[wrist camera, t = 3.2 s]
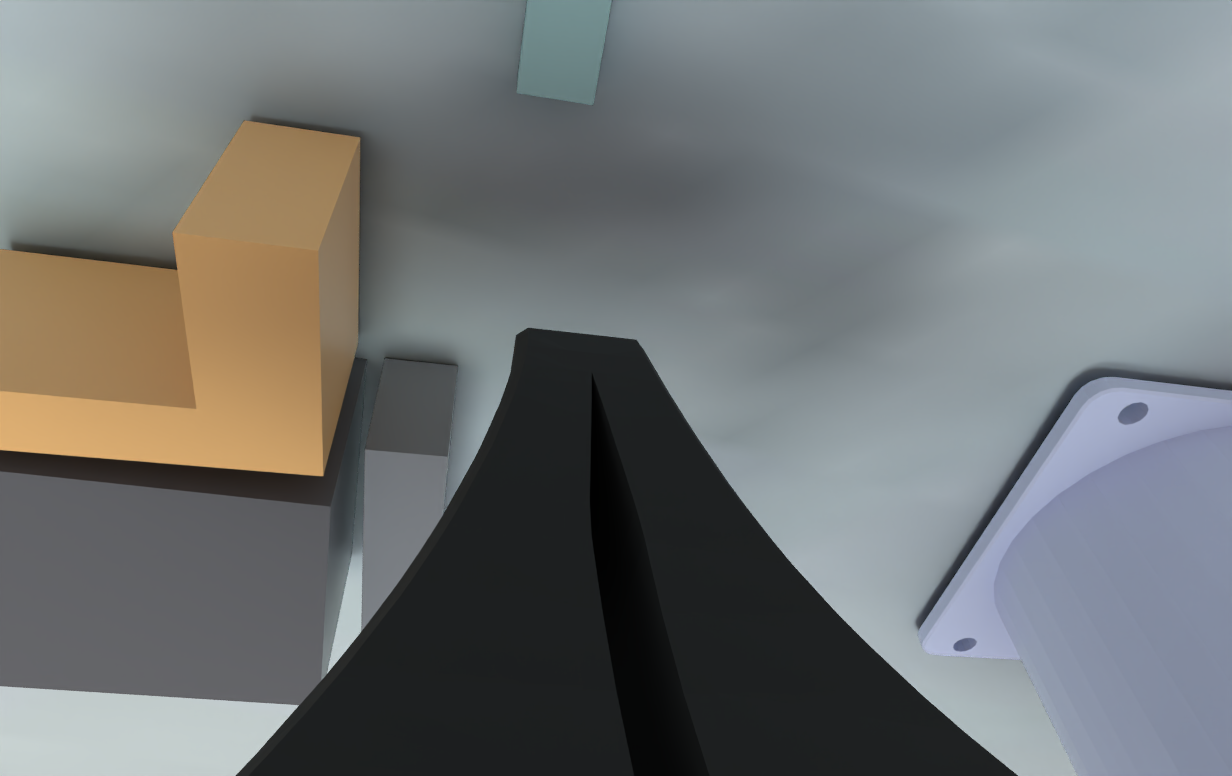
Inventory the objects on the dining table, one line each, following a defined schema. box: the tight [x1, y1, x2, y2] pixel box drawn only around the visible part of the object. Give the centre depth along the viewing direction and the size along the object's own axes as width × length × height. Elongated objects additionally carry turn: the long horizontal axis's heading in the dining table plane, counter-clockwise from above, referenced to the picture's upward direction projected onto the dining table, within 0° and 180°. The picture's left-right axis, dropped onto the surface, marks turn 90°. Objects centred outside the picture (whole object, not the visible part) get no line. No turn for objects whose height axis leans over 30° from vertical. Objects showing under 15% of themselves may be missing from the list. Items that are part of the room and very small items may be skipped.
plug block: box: [0, 358, 367, 705], centre depth 14 cm, size 5×5×4 cm
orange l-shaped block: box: [0, 120, 360, 476], centre depth 11 cm, size 5×4×3 cm
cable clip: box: [361, 358, 458, 631], centre depth 15 cm, size 8×5×2 cm, turn 79°
